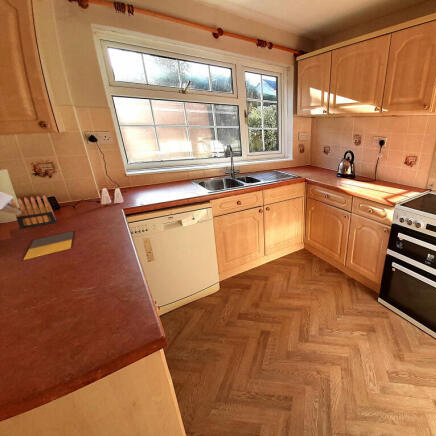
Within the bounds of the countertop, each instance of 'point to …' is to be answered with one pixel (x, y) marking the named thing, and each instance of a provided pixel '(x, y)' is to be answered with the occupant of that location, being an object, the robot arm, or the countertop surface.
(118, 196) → the shaker set
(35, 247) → the sorting board
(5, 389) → the countertop surface
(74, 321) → the countertop surface
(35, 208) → the ammunition clip
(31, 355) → the countertop surface
